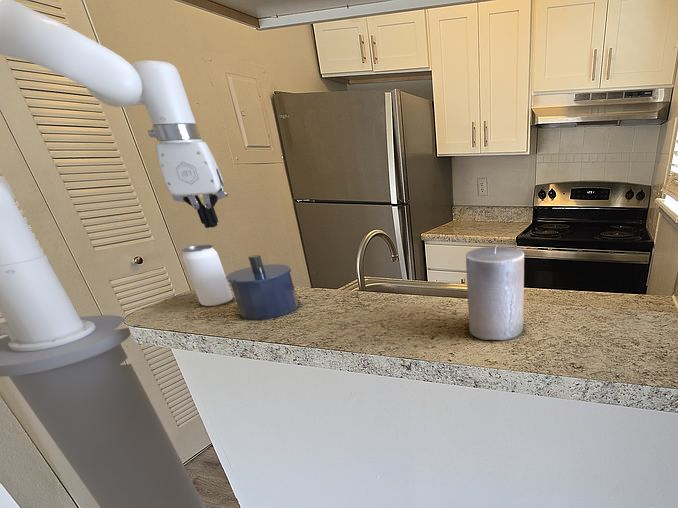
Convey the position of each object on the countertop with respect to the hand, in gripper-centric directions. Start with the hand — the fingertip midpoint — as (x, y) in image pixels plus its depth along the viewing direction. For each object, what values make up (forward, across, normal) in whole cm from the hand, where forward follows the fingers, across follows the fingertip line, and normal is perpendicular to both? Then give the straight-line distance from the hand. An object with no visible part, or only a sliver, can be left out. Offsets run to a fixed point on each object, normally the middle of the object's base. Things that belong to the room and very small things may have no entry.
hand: (211, 226), depth 92 cm
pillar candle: (+15, +56, -43) cm, 72 cm away
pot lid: (+7, +13, -19) cm, 24 cm away
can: (+15, 0, -10) cm, 18 cm away
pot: (+15, +12, -19) cm, 27 cm away
